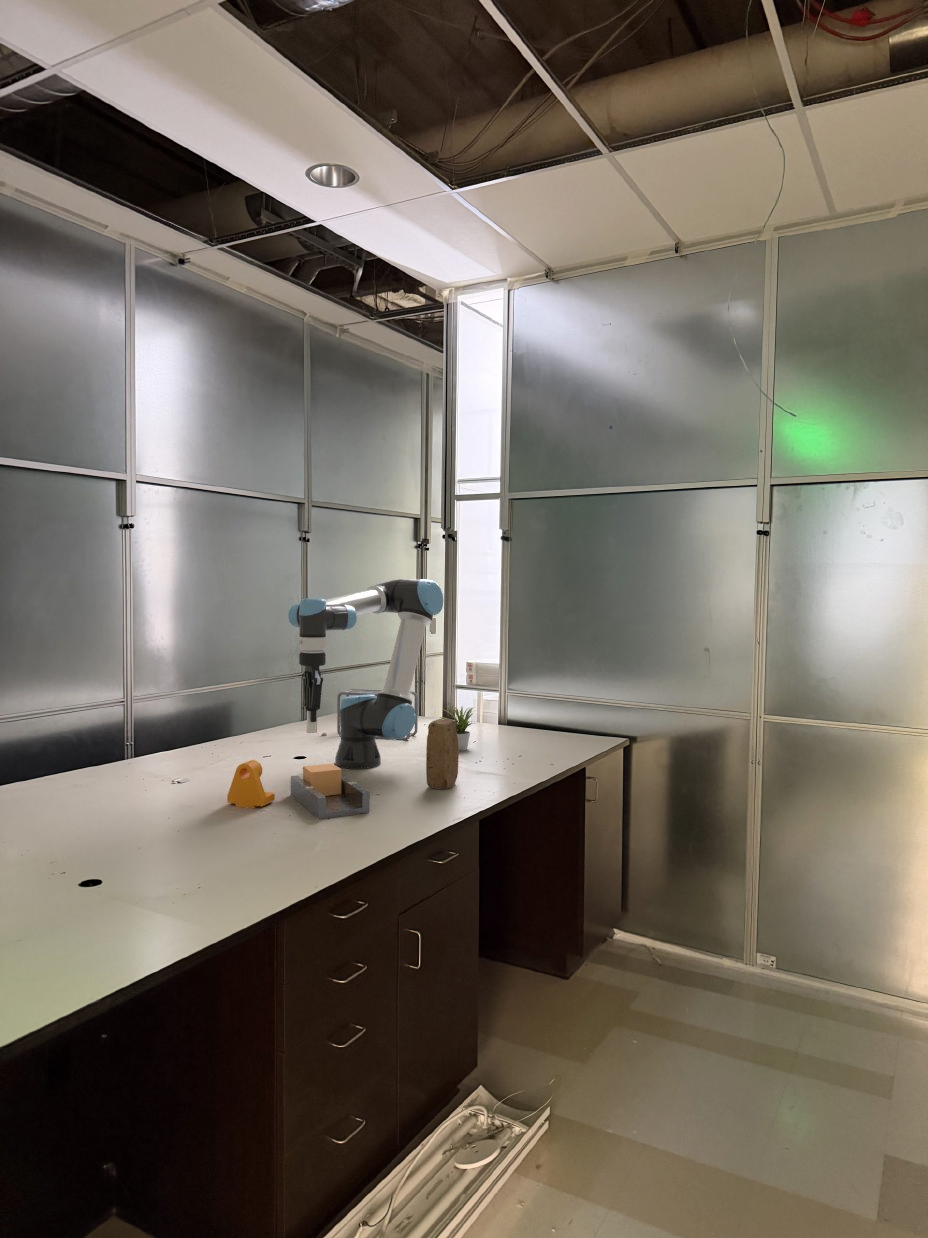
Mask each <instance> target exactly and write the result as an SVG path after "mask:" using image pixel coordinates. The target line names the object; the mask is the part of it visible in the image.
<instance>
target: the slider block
mask: <svg viewBox="0 0 928 1238" xmlns="http://www.w3.org/2000/svg"><path fill="white" fill-rule="evenodd" d="M341 774H342V769H341V767H338V766H336V765H335V763H324V764H314V765H303V767H302V778H303V780H304V781H305V782H307V783H308V784H309V785H311V786H313V787H314V788H315V789H316V790H317V791H318V792H320V793H321V794H322V795H324V796H329V795H337V794H341Z"/></svg>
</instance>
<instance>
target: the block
mask: <svg viewBox="0 0 928 1238" xmlns="http://www.w3.org/2000/svg"><path fill="white" fill-rule="evenodd" d="M427 730H428V732H427V735H426V759H425V761H426V763H425V765H426V766H425V770H426V773H425V775H426V785H427V787H429V788H430V789H431V788H432V789H435V790H447V789H448V790H449V789H451V788H453V787H454V786H455V784H456V782H457V780H458V776H459V775H458V774H459V751H458V736H457V732H456V723H455V720H454V719H451V718H448V719H442V718H439V719H435V720H433V721H431V722H430V723H428V726H427Z"/></svg>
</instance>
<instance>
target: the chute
mask: <svg viewBox="0 0 928 1238" xmlns="http://www.w3.org/2000/svg"><path fill="white" fill-rule="evenodd" d="M370 795H371V793H370V791H368V789H366V788H364V787H362V786H361V785H360V784H357V782H356V781H354V780H352V779H350V778H348V777H347V776H345V775H344V774H343V773H341V794H337V795H329V796H324V795H322V794H321V793H320V792H318V791H317V790H316V789H315V788H314V787H313V786H311V785H309V784H308V783H307V782H305V781H304V780H303V777H302V778H301V777H300V776H299V775H291V776H290V796H291V797H292V796H293V797H294V798H293V797H292V798H293V799H295V800H296V801H297V802H298V803H299V804H300V805H301V806H302V807H304V809H306V810H307V811H308V812H310V814H312V815H313V816H314V817H315V816H316V817H315V818H316V819H318V820H325V819H330V818H331V817H332V818H339V816H340V817H344V816H345V817H346V815H347V816H353V814H355V815H361V813H363V814H369V812H370V811H371V810H370V807H371V806H370V805H371V804H370V802H371V801H370Z"/></svg>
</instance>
